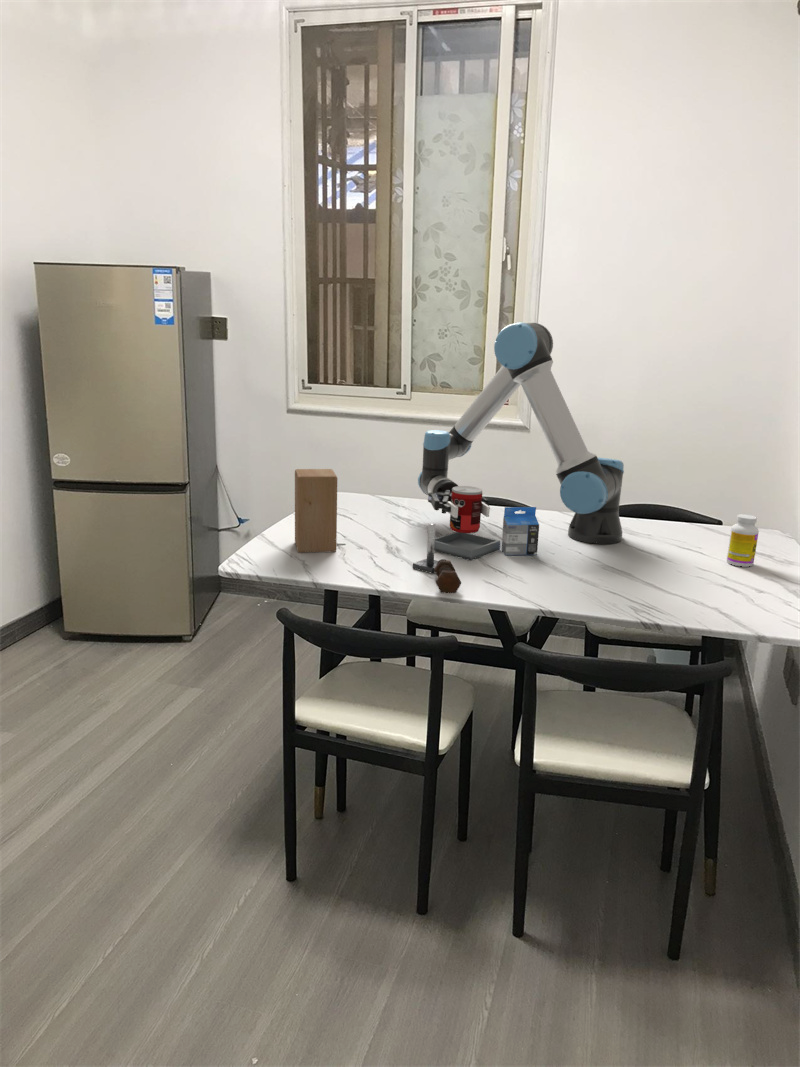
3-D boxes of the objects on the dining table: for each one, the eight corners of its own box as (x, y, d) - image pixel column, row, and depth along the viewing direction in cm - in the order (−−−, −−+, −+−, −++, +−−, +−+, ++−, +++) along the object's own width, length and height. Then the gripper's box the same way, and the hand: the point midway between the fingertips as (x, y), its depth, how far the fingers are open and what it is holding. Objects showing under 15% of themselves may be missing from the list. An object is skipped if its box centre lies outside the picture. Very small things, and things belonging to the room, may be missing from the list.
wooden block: (297, 553, 202) (297, 476, 197) (294, 542, 212) (294, 468, 206) (336, 552, 204) (337, 476, 199) (331, 541, 214) (332, 468, 208)
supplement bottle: (753, 569, 203) (761, 521, 200) (726, 565, 206) (733, 517, 202) (752, 562, 209) (760, 515, 206) (725, 558, 212) (732, 512, 208)
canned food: (447, 525, 213) (449, 485, 209) (476, 525, 213) (479, 486, 210) (452, 533, 205) (454, 492, 202) (482, 533, 206) (485, 492, 203)
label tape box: (504, 556, 207) (508, 510, 203) (500, 551, 211) (504, 506, 207) (537, 555, 208) (541, 510, 205) (532, 551, 212) (536, 506, 209)
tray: (499, 549, 212) (500, 540, 211) (470, 560, 201) (471, 551, 201) (458, 539, 220) (459, 530, 219) (428, 549, 210) (429, 540, 209)
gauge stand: (446, 568, 195) (449, 524, 192) (432, 573, 191) (434, 528, 188) (427, 562, 199) (429, 519, 196) (412, 567, 194) (414, 523, 191)
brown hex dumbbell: (445, 579, 193) (451, 599, 178) (428, 569, 192) (432, 588, 177) (458, 559, 192) (465, 578, 177) (441, 549, 191) (446, 567, 176)
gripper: (477, 503, 228) (508, 525, 207) (408, 505, 223) (433, 527, 201) (479, 478, 226) (511, 497, 205) (410, 479, 220) (434, 498, 199)
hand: (472, 512), depth 203 cm, fingers closed on canned food, 8 cm apart
